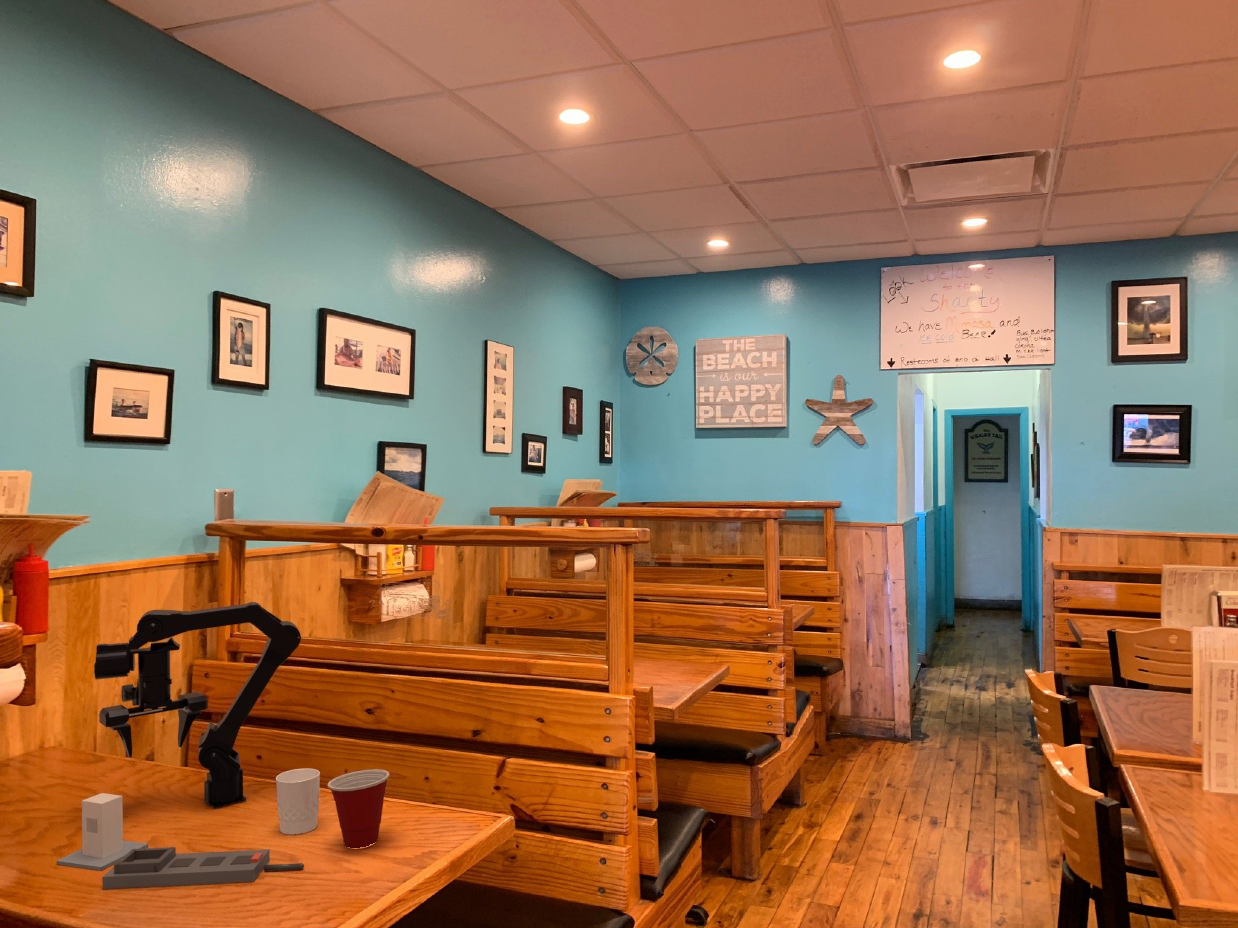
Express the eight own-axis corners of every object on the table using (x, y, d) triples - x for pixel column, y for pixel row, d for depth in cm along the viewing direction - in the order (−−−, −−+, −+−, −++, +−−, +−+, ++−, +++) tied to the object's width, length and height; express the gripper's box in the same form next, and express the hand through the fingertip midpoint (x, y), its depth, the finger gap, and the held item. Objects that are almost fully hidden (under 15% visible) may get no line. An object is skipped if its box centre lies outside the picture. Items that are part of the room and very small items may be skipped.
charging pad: (105, 841, 165) (105, 837, 165) (148, 846, 162) (148, 843, 162) (56, 863, 155) (56, 860, 155) (101, 870, 152) (101, 866, 152)
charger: (103, 845, 161) (102, 792, 162) (123, 849, 160) (122, 795, 160) (81, 854, 158) (81, 800, 158) (102, 858, 156) (101, 803, 156)
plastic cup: (353, 828, 169) (352, 764, 169) (402, 834, 165) (401, 769, 165) (315, 851, 158) (314, 783, 158) (367, 858, 155) (366, 789, 155)
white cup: (329, 822, 172) (328, 770, 172) (302, 838, 164) (301, 783, 164) (295, 818, 174) (294, 766, 174) (267, 833, 167) (266, 779, 167)
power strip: (102, 889, 145) (102, 867, 145) (126, 867, 153) (126, 847, 153) (297, 879, 147) (296, 858, 147) (310, 858, 155) (310, 838, 155)
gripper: (190, 661, 192) (191, 734, 192) (91, 675, 179) (92, 753, 179) (208, 668, 184) (209, 744, 183) (106, 684, 171) (107, 766, 171)
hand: (155, 751), depth 179 cm, fingers open, 9 cm apart
